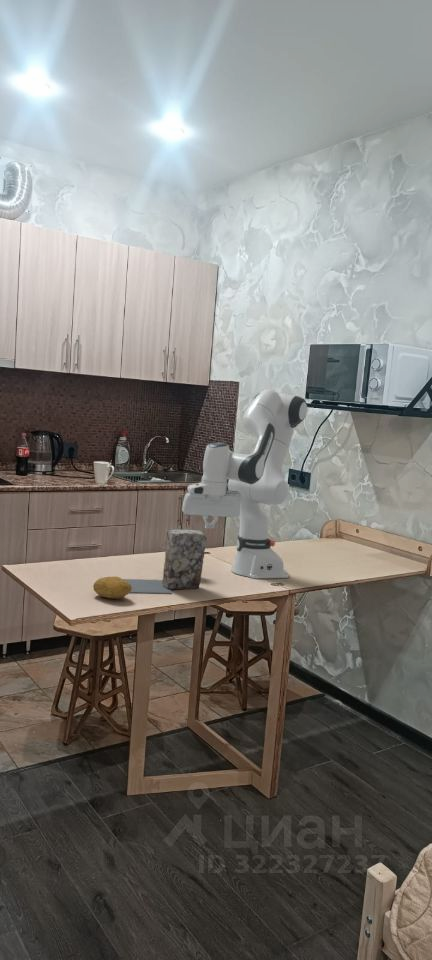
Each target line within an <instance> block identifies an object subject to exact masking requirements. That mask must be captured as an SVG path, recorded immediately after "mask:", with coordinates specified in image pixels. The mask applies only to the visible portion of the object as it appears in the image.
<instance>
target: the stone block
mask: <svg viewBox="0 0 432 960" xmlns="http://www.w3.org/2000/svg"><path fill="white" fill-rule="evenodd" d="M206 542H207V535H205V533H203V532H202V531H201V530H197V529H170V530H167V532H166V538H165V552H164V555H165V557H164V565H163V571H162V572H163V574H162V575H163V577H162V580H163V586H165V587H166V588H167V589H170V590H187V589H188V590H189V589H190V590H191V589H199V588H200V584H201V579H202V578H201V577H202V573H203V564H204V558H205V552H206V551H205V550H206Z"/></svg>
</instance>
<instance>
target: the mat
mask: <svg viewBox="0 0 432 960" xmlns="http://www.w3.org/2000/svg"><path fill="white" fill-rule="evenodd" d="M122 579H123V580H125V581H127V582H128V583H130V585H131V587H132V590H131V591H130V593H129V594H147V595H148V594H153V595H154V594H157V595H158V594H159V595H163V594H164V595H172V594H173V592H172V589H167V588H166V587H165V586H163V579H140V578H136V579H135V578H133V579H132V578H122Z"/></svg>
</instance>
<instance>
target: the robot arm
mask: <svg viewBox="0 0 432 960" xmlns="http://www.w3.org/2000/svg"><path fill="white" fill-rule="evenodd" d="M307 414H308V403H307V401H306V399H305V398H303V397H301V396H298V395H292V394H287V393H282V392H277V391H275V390H272V389H263V390H262V391H260V392H258V393H257V394H256V395H255V396H254V398H253V400H252V401H251V402H250V404H249V406H248V407H247V409H246V411H245V412H244V414H243V417H242V424H243V427H244V429H245V431H247V433H248V434H249V435H250V436H251V437H254V438H255V439H257V443H256V445H255V447H254V450H253V452H251V453H249V454H245V453H237V452H234V451H233V450H231V449H230V447H229V444H228V443H226V442H222V441H218V442H215V441H214V442H210V443H208V444H207V445H206V448H205V451H204V454H203V455H204V456H203V463H202V469H203V471H202V472H203V475H202V477H201V479H200V482H196V483H193V484H189V485H187V491H188V492H186V493H185V495H184V497H183V500H182V501H183V502H182V507H181V511H182V513H183V514H184V515H189V516H190V515H191V516H192V515H194V516H202V519H203V521H204V523H205V525H204V528H205V529H211V530H214V529H215V525H216V523H217V521H219V517H223V518H224V517H226V518H239V531H238V535H237V539H236V554H235V557H234V562H233V566H232V567H231V572H232V573H234V574H237V575H239V576H245V577H248V578H252V579H258V580H259V579H282V578H283V579H284V578H285V579H287V578H289V577H290V573H289V572H288V570H286V569H285V567H284V561H283V558H282V557H281V556H280V555H279V554H278V553H277V552H275V550H273V549H272V548H271V547H275V546H276V542H275V541H274V540H271V539H269V538H268V531H269V518H268V516H267V514H266V513H264V512H263V511H262V508H261V506H260V504H264V505H269V506H271V505H273V506H276V505H278V506H279V505H283V503H285V502H286V500H287V499H288V498H289V497H288V496H289V493H290V492H289V491H290V490H289V485H288V483H287V481H286V480H285V478H284V475H283V466H284V464H285V463H284V462H285V460H286V457H287V453H288V452H289V449H290V447H291V446H290V445H291V443H292V439H293V436H294V428H296V427H298V426H299V425H300V424H301V423H302V422H303V421H304V420H305V418H306V416H307ZM210 516H211V517H212V518H213V520H212V521H211V522H208V520H207V519H209V517H210Z"/></svg>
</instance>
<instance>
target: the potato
mask: <svg viewBox="0 0 432 960" xmlns="http://www.w3.org/2000/svg"><path fill="white" fill-rule="evenodd" d="M123 579H124V578H121V577H119V576H104V577H100V578H98V579H97V580H96V581H94V583H93V585H92V587H93V592H94V593H96V594H97V595H98V596H100V597H103V598H107V599H110V600H111V599H112V600H114V599H121V598H125V597H126V596H127V595H130V594H131V593H130V591H131V590H132V587H131V585H130V583H128V582H127V581H125V580H123Z"/></svg>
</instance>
